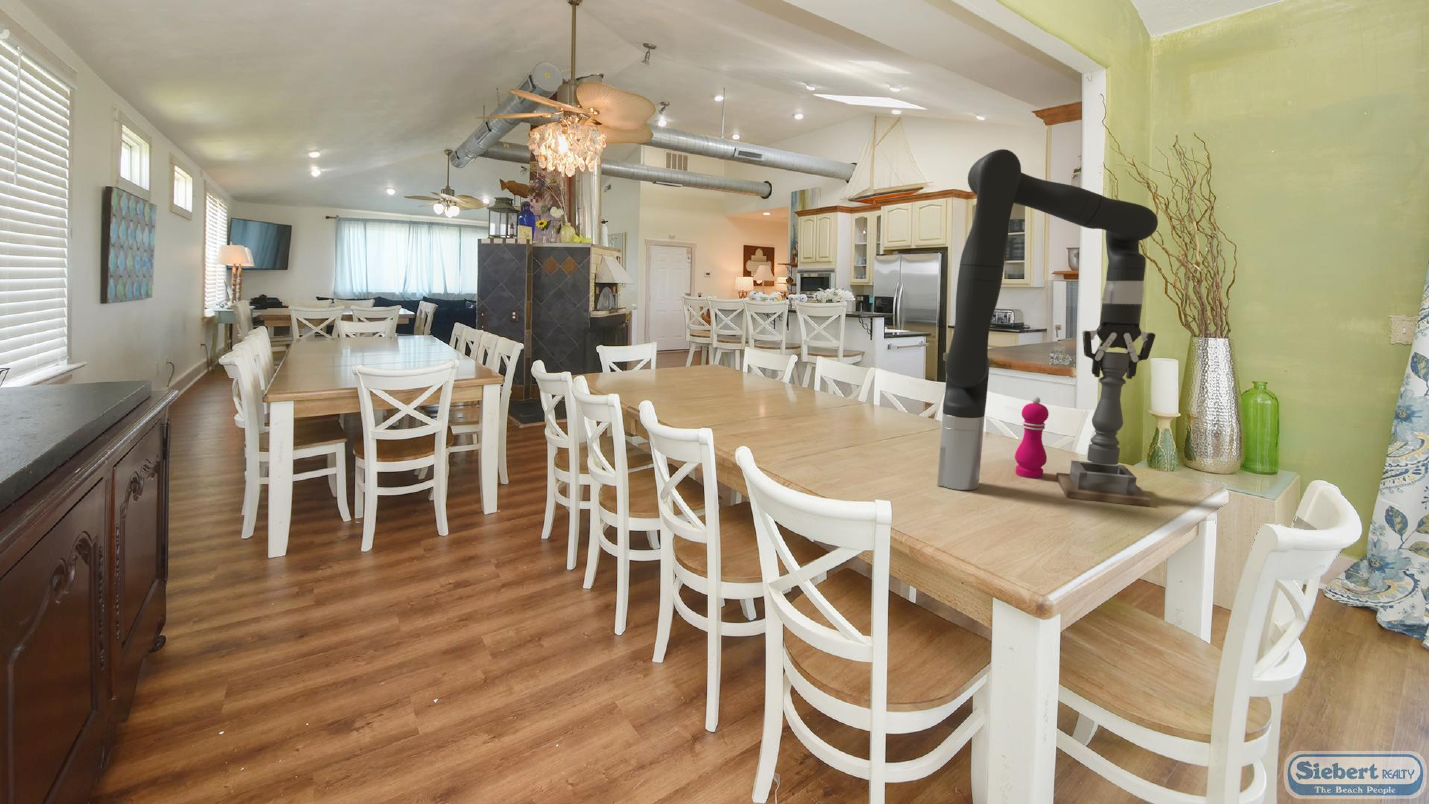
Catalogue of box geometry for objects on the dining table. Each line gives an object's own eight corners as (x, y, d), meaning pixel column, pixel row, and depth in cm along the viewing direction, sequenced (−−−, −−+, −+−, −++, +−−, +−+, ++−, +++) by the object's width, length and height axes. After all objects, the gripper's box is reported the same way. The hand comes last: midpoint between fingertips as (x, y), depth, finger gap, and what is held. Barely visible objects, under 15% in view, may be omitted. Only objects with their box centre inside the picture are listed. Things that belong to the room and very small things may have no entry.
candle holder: (1081, 457, 149) (1093, 351, 144) (1106, 457, 149) (1118, 351, 145) (1098, 464, 143) (1112, 354, 138) (1124, 464, 143) (1138, 354, 139)
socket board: (1066, 497, 143) (1069, 474, 142) (1056, 478, 157) (1058, 456, 156) (1149, 506, 137) (1153, 482, 136) (1130, 485, 152) (1133, 463, 151)
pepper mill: (1048, 479, 156) (1057, 400, 153) (1017, 477, 158) (1024, 398, 154) (1040, 471, 163) (1047, 395, 160) (1010, 469, 165) (1017, 394, 161)
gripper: (1088, 301, 139) (1079, 377, 142) (1165, 302, 134) (1155, 381, 137) (1081, 301, 146) (1073, 374, 148) (1155, 302, 141) (1145, 377, 144)
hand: (1112, 377), depth 143 cm, fingers closed on candle holder, 5 cm apart
